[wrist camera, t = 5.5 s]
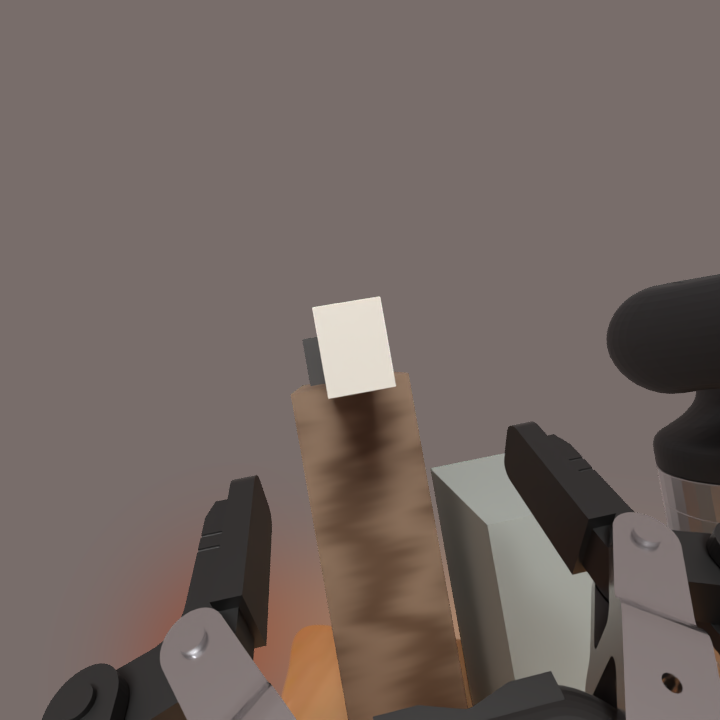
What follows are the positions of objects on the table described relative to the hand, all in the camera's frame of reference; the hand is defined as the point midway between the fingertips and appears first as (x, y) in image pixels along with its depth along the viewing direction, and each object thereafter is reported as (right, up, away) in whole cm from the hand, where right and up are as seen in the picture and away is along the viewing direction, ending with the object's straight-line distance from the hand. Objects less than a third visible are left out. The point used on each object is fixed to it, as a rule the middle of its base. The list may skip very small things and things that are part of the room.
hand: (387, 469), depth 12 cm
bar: (-2, +2, +15) cm, 15 cm away
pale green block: (+13, -26, +16) cm, 33 cm away
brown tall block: (+3, -28, +19) cm, 34 cm away
